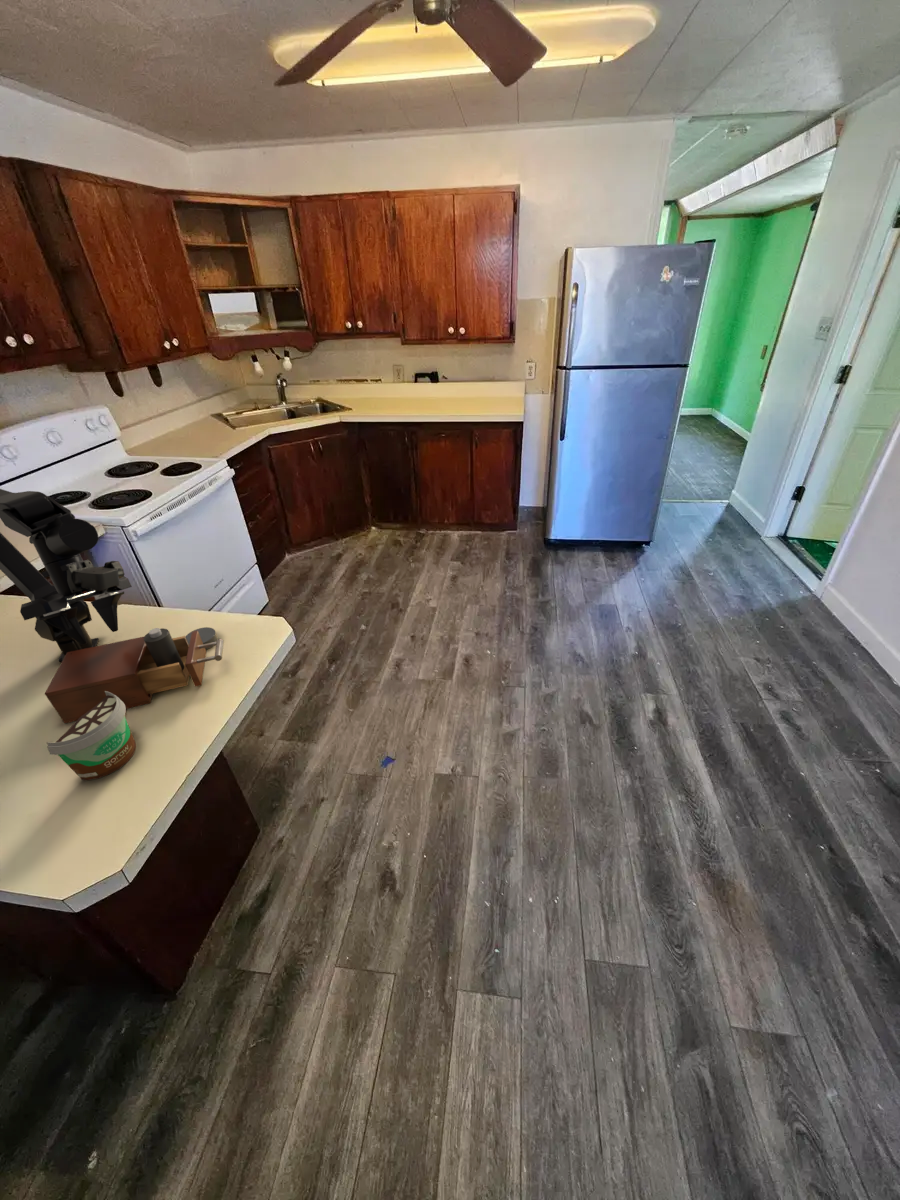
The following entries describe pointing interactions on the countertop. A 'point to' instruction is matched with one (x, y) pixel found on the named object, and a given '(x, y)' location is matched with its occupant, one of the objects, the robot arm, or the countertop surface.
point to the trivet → (204, 635)
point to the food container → (97, 740)
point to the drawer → (178, 665)
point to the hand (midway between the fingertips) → (100, 637)
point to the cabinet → (98, 678)
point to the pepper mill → (162, 647)
